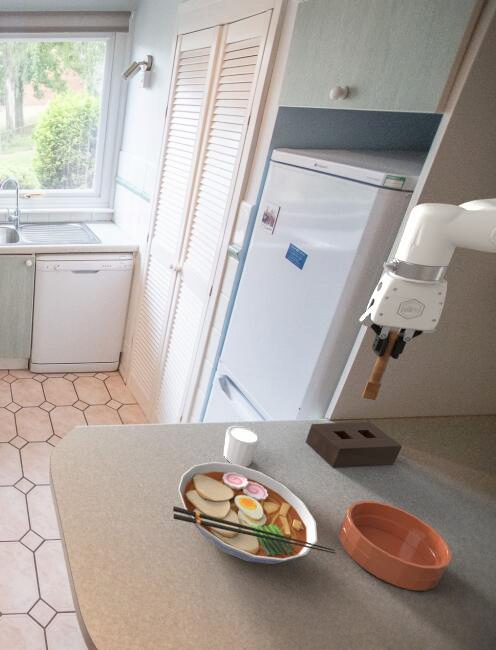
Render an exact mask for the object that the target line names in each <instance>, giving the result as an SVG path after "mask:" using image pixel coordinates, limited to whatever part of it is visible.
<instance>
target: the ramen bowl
mask: <svg viewBox="0 0 496 650" xmlns="http://www.w3.org/2000/svg"><path fill="white" fill-rule="evenodd" d="M177 490H178V494H179V496H180V499H181V502H182V505H183V506H182V507H183V508H182V507H179V506H173V507H172V511H173V512H175V513H173V516H172V517H173V520H177V521H183V522H186V523H192V524H193V525H194V526H195V527H196V528H197V530H198V531H199V532H200V533H201V535H202V536H203V537H204V538H205V539H206V540H207V541H209V542H210V543H211V544H213V545H214V546H216V547H217V548H218V549H220V550H221V551H223V552H224V553H226V554H229V555H231V556H232V557H233V556H234V557H236V558H238V559H240V560H243V561H246V562H251V563H260V564H261V563H262V564H271V565H274V564H280V563H285V562H287V561H292V560H295V559H299V558H302V557H304V556H307V554H309V552H310V550H311V549H312V550H317V551H321V552H326V553H332V554H336V552H335V551H336V550H335V549H333V548H330V547H326V546H323V545H318V544H316V543H317V542H318V533H317V522H316V520H315V519H314V516H313V515H312V513H311V512H310V511H309V509H308V508H307V506H306V504H305V503H304V502H303V501H302V500H301V499H300V498H299V497H298V496H297V495H296V494H294V493H293V492H292V491H291V490H290V489H289V488H288V487H286V485H284V484H283V483H281V482H279V481H277V480H276V479H273V478H272V477H270V476H268V475H266V474H264V473H263V472H261V471H257V470H255V469H253V468H249V467H247V466H246V467H243V466H240V465H237V464H231V463H229V462H219V461H210V462H204V463H199V464H194V465H192V467H190V468H189V469H188V470H186V471H185V472H184V473H183V474H182V475H181V478H180V481H179V485H178V488H177ZM177 513H179V514H177ZM185 515H187V516H185Z"/></svg>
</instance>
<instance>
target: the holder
mask: <svg viewBox="0 0 496 650" xmlns="http://www.w3.org/2000/svg"><path fill="white" fill-rule="evenodd" d="M305 444H307V445H308V446H309V448H311V449H312V450H313V451H314V452H315V453H316V454H317V455H318V456H320V457H321V458H322V459H323V461H325V462H326V463H327V464H328V465H329V466H330V467H331V468H333V469H334V468H353V467H354V468H355V467H375V466H393V465H395V463H396V460H397V458H398V456H399V453H400V452H401V449H402V447H403V445H402V444H401V443H400V442H398V441H396V440H395V439H394V438H392V436H390V435H388V434H387V433H386V432H384V431H383V430H381V429H380V428H379V427H377V426H376V425H375V424H373V422H370V421H351V422H349V421H348V422H327V423H324V422H323V423H311V425H310V428H309V431H308V433H307V436H306V438H305Z"/></svg>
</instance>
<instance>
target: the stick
mask: <svg viewBox="0 0 496 650" xmlns="http://www.w3.org/2000/svg"><path fill="white" fill-rule="evenodd" d="M398 331H399V330H396V329H390V330H389V333H388V337H387V339H388V340H389V342H388V345H387V347H386V350H385V353H384V355H383V356H382V357H378V356H377V358H376V362H375V364H374V367H373V369H372V372H371V374H370V378H369V380H367V381H366V385H365V387H364V390H363V392H362V394H361V398H363V399H368V400H371V401H376V399H377V397H378V394H379V391H380V389H381V386H382V383H381V382H382V380H383V377H384V374H385V372H386V370H387V367H388V364H389V361H390V359H391V358H392V357H391V354H392V351H393V349H394V346H395V344H396V341H397V338H398V336H399V333H400V332H398Z"/></svg>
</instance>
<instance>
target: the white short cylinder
mask: <svg viewBox="0 0 496 650" xmlns="http://www.w3.org/2000/svg"><path fill="white" fill-rule="evenodd" d="M260 443H261V437H260V435H259V433H257V432H256V431H254V430H253V429H251V428H249V427H246V426H243V425H234V424H233V425H230V426H228V427H227V428H226V432H225V440H224V447H223V457H224V456H225V458H226V459H227V460H228V461H229V462H230V463H232V464H237V465H240V466H243V467H246V468H247V467H249V466H250V465H251V463H252V460H253V459H254V457H255V454H256V452H257V449H258V447H259V445H260ZM225 458H224V459H225ZM226 459H225V460H226ZM227 460H226V461H227ZM228 461H227V462H228ZM229 462H228V463H229ZM249 464H250V465H249Z"/></svg>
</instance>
